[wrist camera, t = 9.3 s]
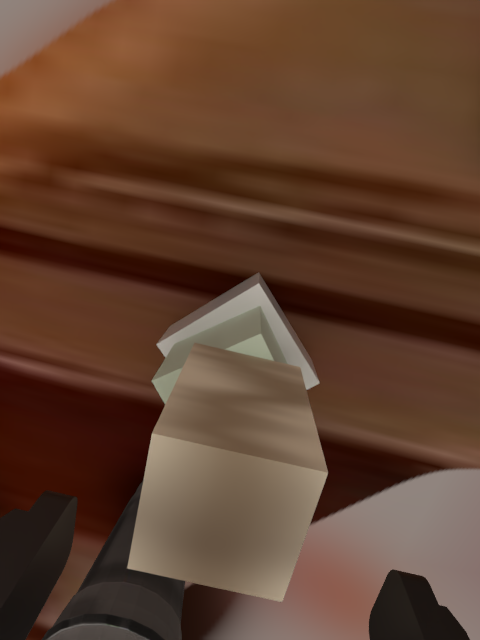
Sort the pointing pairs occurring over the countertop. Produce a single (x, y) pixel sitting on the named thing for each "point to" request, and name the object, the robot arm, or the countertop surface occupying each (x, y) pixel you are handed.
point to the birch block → (230, 476)
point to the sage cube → (222, 346)
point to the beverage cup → (121, 595)
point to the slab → (235, 304)
